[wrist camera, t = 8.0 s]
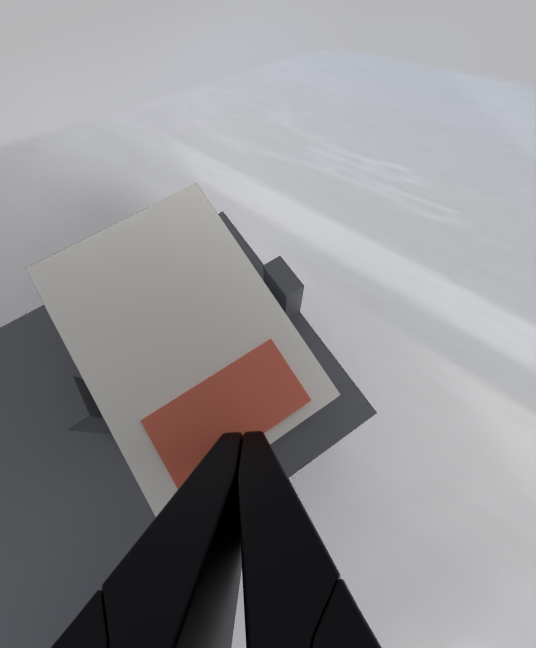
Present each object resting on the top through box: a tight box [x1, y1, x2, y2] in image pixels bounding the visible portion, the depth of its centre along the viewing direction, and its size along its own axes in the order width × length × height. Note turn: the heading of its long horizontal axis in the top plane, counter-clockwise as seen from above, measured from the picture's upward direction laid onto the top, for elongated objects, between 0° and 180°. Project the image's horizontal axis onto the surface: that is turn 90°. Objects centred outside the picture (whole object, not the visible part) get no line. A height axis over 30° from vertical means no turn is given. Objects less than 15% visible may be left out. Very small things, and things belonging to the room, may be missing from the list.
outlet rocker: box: [25, 183, 341, 517], centre depth 9 cm, size 7×5×1 cm
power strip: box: [0, 212, 377, 648], centre depth 11 cm, size 9×23×8 cm, turn 123°
